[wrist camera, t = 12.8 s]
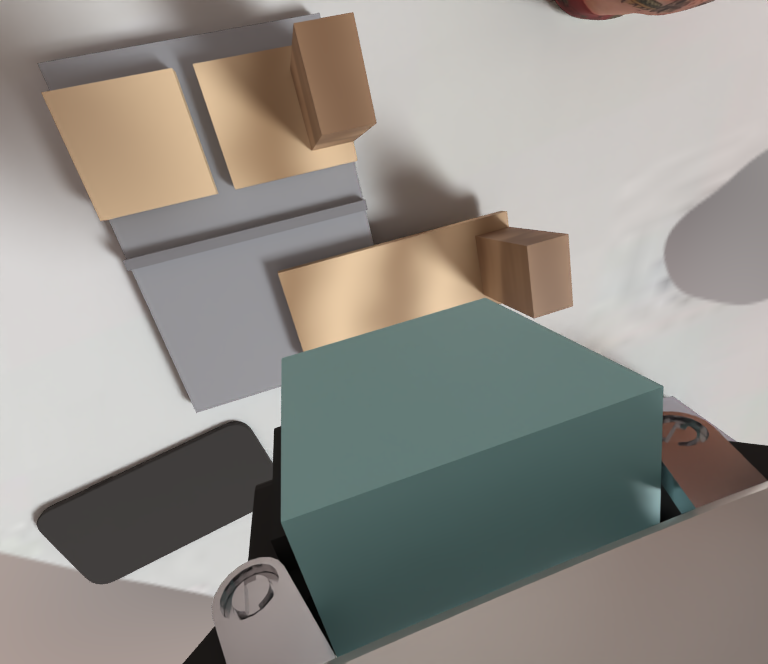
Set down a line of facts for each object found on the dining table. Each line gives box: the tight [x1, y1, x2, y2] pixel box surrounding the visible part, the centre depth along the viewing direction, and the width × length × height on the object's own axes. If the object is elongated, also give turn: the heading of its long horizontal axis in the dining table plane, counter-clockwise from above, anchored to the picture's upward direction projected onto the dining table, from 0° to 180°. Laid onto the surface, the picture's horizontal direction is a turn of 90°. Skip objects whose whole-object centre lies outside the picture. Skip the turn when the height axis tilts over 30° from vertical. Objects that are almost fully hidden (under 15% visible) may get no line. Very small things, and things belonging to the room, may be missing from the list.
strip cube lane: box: [278, 211, 573, 352], centre depth 24 cm, size 15×6×7 cm, turn 103°
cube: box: [281, 298, 663, 657], centre depth 10 cm, size 6×6×6 cm
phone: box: [37, 421, 273, 584], centre depth 29 cm, size 7×1×15 cm
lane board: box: [38, 13, 374, 413], centre depth 24 cm, size 14×20×2 cm
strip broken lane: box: [193, 12, 376, 190], centre depth 19 cm, size 7×6×7 cm
